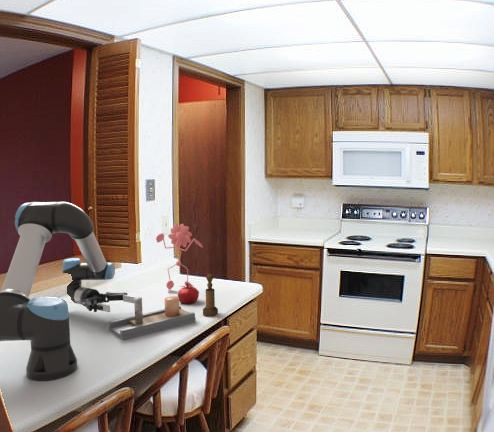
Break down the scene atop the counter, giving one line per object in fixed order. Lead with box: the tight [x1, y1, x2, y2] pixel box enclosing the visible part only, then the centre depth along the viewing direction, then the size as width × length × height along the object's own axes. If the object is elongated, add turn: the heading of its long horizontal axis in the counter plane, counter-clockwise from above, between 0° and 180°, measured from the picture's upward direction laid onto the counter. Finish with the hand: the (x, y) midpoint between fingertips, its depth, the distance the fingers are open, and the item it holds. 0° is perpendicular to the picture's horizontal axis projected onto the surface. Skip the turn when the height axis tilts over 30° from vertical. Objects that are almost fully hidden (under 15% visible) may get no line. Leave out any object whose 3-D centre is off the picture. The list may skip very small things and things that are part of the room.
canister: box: [164, 296, 180, 317], centre depth 195 cm, size 6×6×7 cm
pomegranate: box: [177, 283, 200, 304], centre depth 222 cm, size 10×10×9 cm
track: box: [107, 305, 196, 341], centre depth 190 cm, size 32×14×4 cm, turn 128°
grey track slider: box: [130, 296, 190, 326], centre depth 192 cm, size 24×9×11 cm, turn 128°
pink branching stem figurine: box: [155, 223, 204, 294], centre depth 241 cm, size 15×26×35 cm, turn 76°
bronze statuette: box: [202, 273, 219, 318], centre depth 203 cm, size 7×6×18 cm
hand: (122, 304), depth 191 cm, fingers open, 13 cm apart
